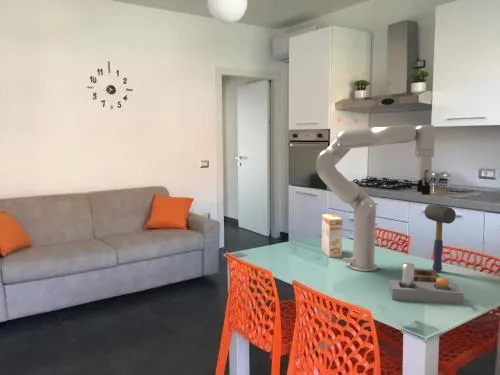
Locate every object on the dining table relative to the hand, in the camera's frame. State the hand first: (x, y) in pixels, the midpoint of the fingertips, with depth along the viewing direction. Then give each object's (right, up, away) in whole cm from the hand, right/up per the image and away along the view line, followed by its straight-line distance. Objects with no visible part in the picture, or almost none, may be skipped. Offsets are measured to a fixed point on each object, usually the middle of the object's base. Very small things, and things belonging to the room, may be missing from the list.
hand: (423, 193), depth 188 cm
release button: (-5, -36, -29) cm, 47 cm away
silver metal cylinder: (-17, -38, -26) cm, 49 cm away
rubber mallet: (+8, -35, +5) cm, 37 cm away
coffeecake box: (-33, -32, +36) cm, 59 cm away
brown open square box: (-6, -38, -15) cm, 41 cm away
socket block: (-11, -39, -27) cm, 49 cm away
